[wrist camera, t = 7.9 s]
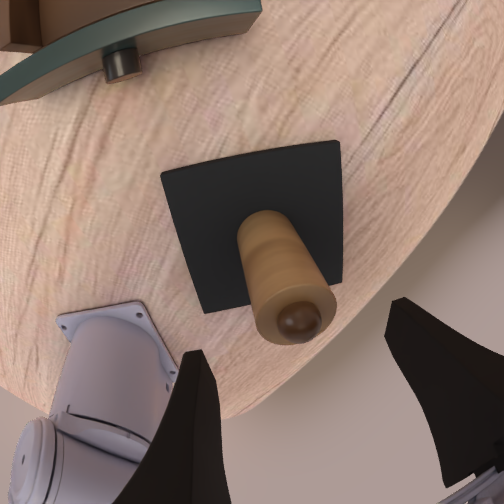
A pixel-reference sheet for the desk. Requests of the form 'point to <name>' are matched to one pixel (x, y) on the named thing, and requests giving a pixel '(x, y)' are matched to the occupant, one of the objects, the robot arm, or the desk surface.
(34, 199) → the desk surface
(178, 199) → the plate
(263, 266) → the pepper mill
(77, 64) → the drawer
